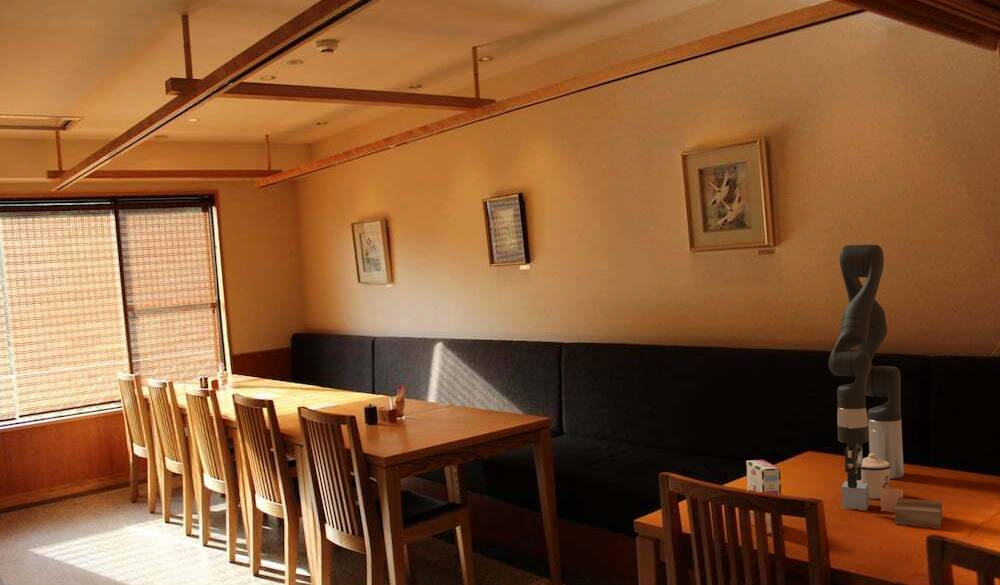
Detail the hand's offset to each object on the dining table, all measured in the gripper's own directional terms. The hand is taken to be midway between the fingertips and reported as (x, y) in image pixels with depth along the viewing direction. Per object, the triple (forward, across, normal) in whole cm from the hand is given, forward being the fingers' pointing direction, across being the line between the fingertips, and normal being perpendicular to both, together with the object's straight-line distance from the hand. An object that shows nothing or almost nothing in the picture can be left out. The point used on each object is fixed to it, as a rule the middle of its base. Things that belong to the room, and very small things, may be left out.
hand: (854, 483), depth 233 cm
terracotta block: (+6, 0, +9) cm, 11 cm away
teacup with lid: (+6, -14, +3) cm, 16 cm away
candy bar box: (+7, +26, -18) cm, 32 cm away
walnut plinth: (+6, +8, +16) cm, 19 cm away
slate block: (+6, 0, 0) cm, 6 cm away
